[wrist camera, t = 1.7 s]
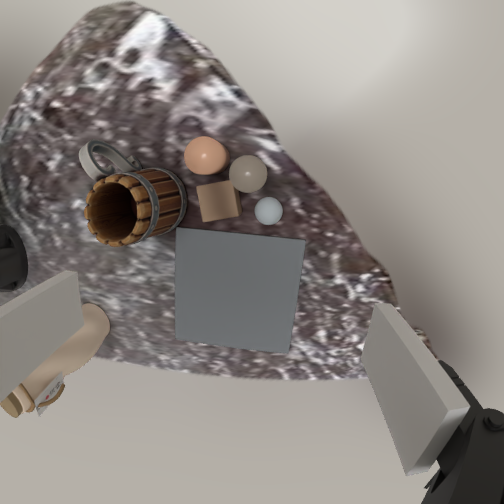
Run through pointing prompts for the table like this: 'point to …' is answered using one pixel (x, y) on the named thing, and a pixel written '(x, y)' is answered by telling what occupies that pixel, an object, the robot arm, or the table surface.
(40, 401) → the cream corked bottle
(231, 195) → the walnut block
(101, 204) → the mug
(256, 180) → the jar
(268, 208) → the grey ball
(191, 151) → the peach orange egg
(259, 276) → the slate pad
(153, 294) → the table surface
